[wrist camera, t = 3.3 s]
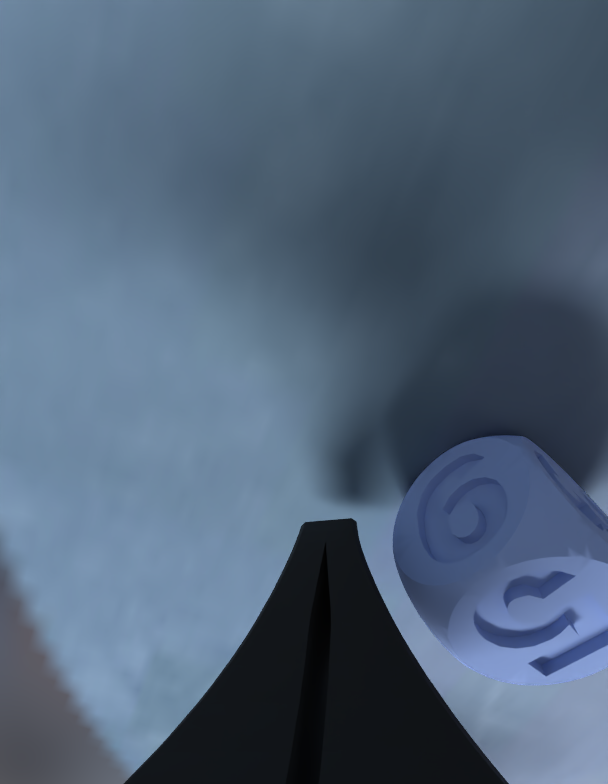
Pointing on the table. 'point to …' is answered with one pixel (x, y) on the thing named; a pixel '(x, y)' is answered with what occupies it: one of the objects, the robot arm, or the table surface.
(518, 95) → the table surface
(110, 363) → the table surface
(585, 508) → the decorative dice
